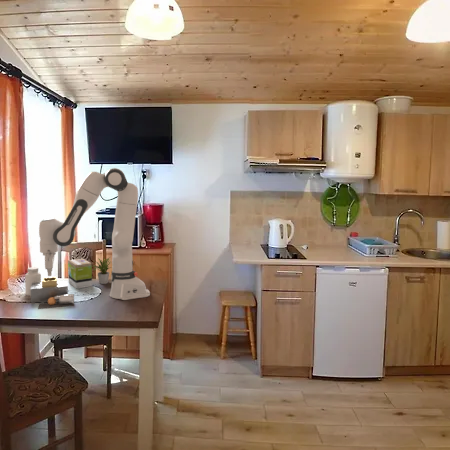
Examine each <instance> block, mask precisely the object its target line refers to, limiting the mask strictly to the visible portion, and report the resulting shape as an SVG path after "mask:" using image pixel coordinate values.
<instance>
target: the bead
mask: <svg viewBox="0 0 450 450" xmlns="http://www.w3.org/2000/svg"><path fill="white" fill-rule="evenodd" d="M56 302H57V301H56V300H55V298H53V297H51V298H49V299H48V302H47V303H48V304H49V305H54V304H55V303H56Z"/></svg>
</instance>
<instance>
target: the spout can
mask: <svg viewBox="0 0 450 450" xmlns="http://www.w3.org/2000/svg"><path fill="white" fill-rule="evenodd" d="M74 297H75V294H74V293H71V294H69V293H68V295H59V296H55V300H59V301H58V302H59V305H64V304H74V305H75V298H74Z"/></svg>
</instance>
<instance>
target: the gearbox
mask: <svg viewBox="0 0 450 450" xmlns="http://www.w3.org/2000/svg"><path fill="white" fill-rule="evenodd" d="M68 283H69V279H68V280H58V277H57V276H48V277H42V278H41V282H36V283H32V286H31V289H30V290H31V296H30V303H31V304H34V303H48V299H49V298H51V297H53V298H55V296H59V295H68V294H69V284H68ZM56 302H59V300H56Z"/></svg>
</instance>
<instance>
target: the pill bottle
mask: <svg viewBox="0 0 450 450" xmlns="http://www.w3.org/2000/svg"><path fill="white" fill-rule="evenodd" d="M24 280H25V282H24V284H25V285H24V286H25V287H24V288H25V296H30V297H31V290H30V289H31V286H32V283H36V282H42V274H41V273H40V272H39V267H37V266H32V267H28V268H27V272H26V273H25V276H24Z"/></svg>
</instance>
